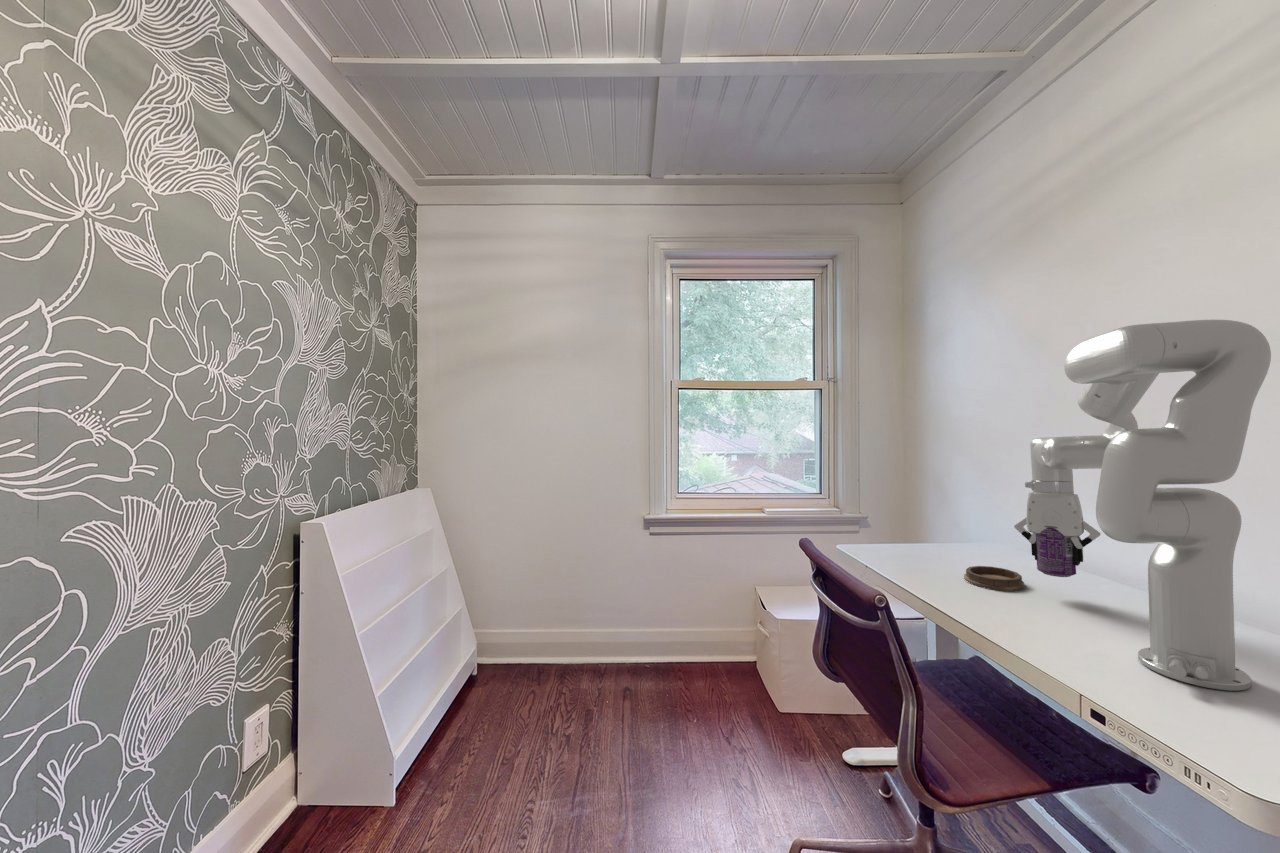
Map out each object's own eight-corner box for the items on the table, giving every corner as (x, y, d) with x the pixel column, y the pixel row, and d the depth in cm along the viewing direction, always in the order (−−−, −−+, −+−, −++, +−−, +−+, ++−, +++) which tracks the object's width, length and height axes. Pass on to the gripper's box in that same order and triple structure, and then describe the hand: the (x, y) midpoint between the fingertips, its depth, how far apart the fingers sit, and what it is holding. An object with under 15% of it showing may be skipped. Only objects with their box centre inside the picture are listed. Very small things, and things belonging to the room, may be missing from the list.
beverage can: (1072, 572, 115) (1069, 523, 115) (1079, 580, 109) (1076, 528, 109) (1035, 569, 119) (1032, 521, 119) (1040, 576, 113) (1037, 526, 113)
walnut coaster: (1017, 594, 117) (1017, 584, 117) (957, 582, 127) (956, 572, 127) (1030, 582, 125) (1029, 572, 125) (972, 571, 135) (972, 562, 135)
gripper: (1004, 487, 119) (1008, 558, 118) (1099, 491, 105) (1104, 571, 105) (1012, 484, 123) (1016, 553, 123) (1104, 488, 110) (1109, 565, 109)
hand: (1057, 561), depth 114 cm, fingers closed on beverage can, 6 cm apart
